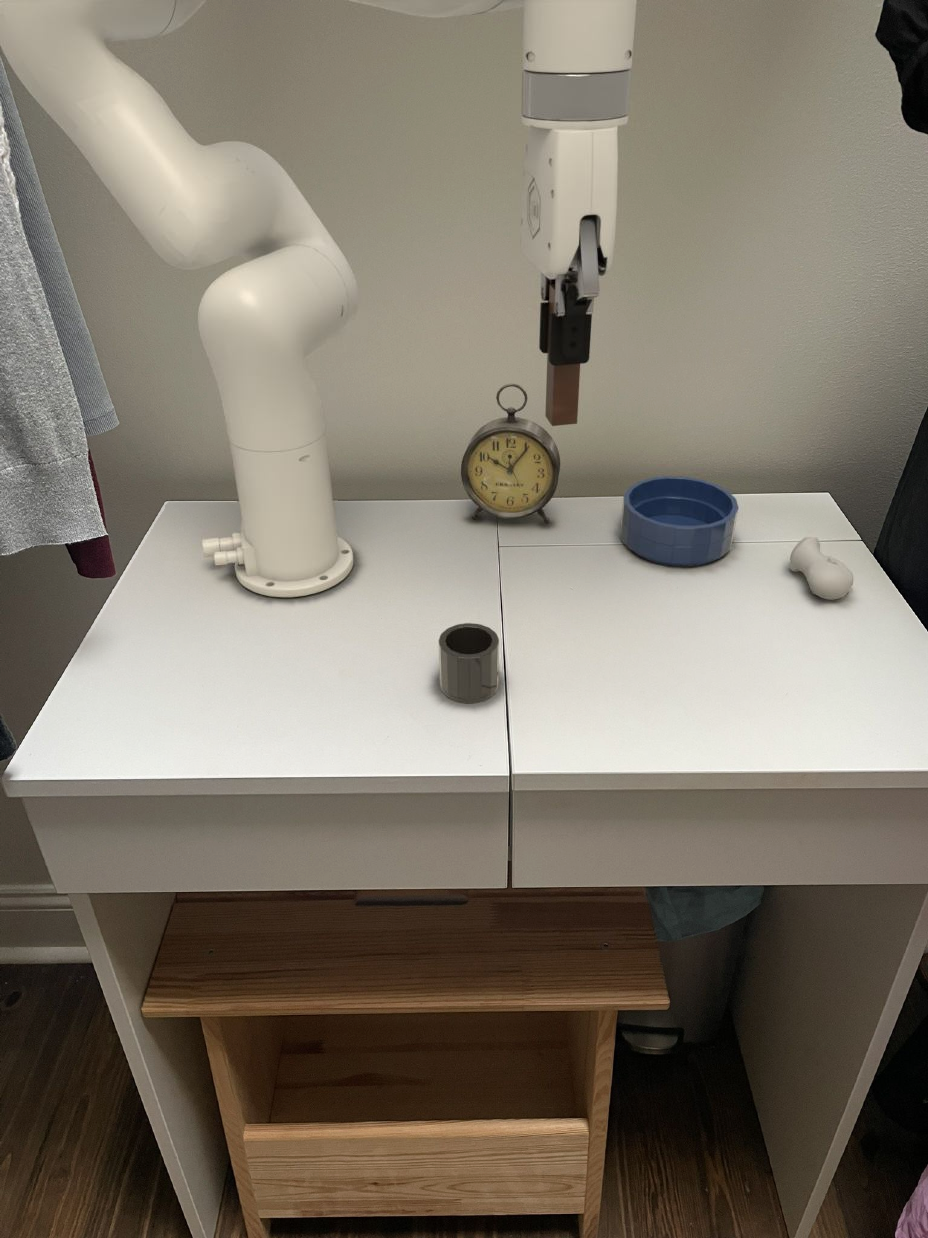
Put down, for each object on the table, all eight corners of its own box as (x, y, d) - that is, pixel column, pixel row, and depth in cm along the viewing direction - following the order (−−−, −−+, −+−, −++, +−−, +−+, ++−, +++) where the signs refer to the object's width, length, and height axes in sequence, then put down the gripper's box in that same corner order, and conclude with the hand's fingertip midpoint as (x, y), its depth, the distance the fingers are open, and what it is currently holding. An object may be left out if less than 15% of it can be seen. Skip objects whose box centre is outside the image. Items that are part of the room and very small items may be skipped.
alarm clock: (460, 524, 109) (458, 390, 100) (468, 502, 114) (466, 372, 105) (555, 531, 108) (562, 395, 99) (559, 509, 112) (566, 376, 103)
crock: (446, 707, 83) (445, 661, 80) (435, 671, 87) (433, 627, 84) (504, 698, 83) (505, 653, 81) (490, 663, 88) (490, 619, 85)
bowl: (643, 575, 100) (648, 534, 97) (605, 521, 110) (608, 482, 107) (750, 561, 102) (757, 520, 99) (703, 509, 112) (709, 470, 109)
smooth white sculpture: (851, 614, 96) (808, 605, 94) (817, 571, 102) (777, 562, 101) (873, 579, 93) (829, 569, 92) (837, 537, 100) (796, 528, 98)
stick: (551, 426, 79) (556, 291, 72) (545, 416, 80) (549, 284, 74) (577, 423, 79) (584, 289, 73) (570, 413, 81) (576, 282, 74)
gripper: (498, 89, 72) (497, 330, 83) (553, 116, 59) (543, 397, 70) (592, 86, 73) (580, 323, 84) (667, 111, 60) (641, 388, 71)
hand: (563, 355), depth 77 cm, fingers closed on stick, 2 cm apart
